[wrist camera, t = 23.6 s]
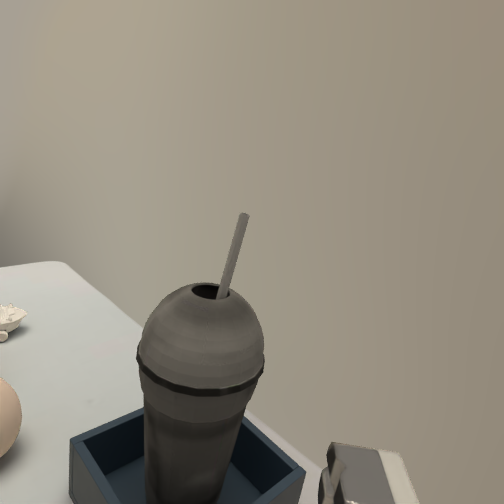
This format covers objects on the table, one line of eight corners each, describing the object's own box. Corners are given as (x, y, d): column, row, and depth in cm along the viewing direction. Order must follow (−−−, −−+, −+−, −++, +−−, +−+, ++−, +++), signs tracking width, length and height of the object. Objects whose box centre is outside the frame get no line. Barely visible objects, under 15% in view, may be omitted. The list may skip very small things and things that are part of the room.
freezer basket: (293, 523, 26) (306, 471, 25) (152, 655, 19) (160, 591, 17) (198, 425, 33) (205, 380, 32) (68, 493, 26) (69, 438, 24)
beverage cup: (158, 444, 30) (186, 187, 24) (248, 477, 28) (302, 211, 22) (99, 532, 23) (117, 204, 17) (213, 581, 22) (277, 241, 15)
